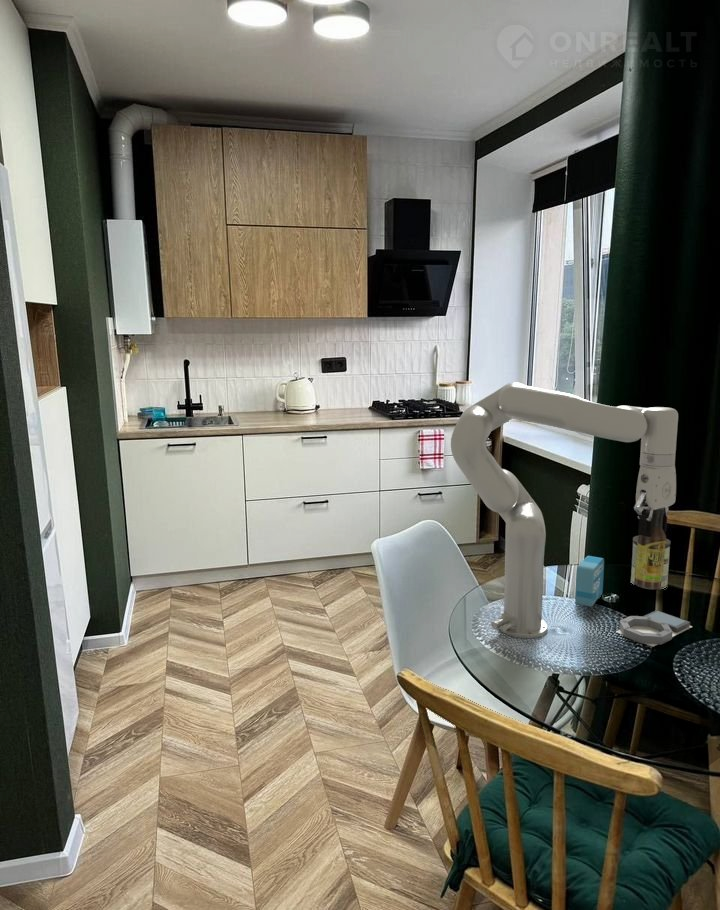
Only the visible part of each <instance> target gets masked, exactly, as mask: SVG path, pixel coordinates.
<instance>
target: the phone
mask: <svg viewBox="0 0 720 910" xmlns="http://www.w3.org/2000/svg"><path fill="white" fill-rule="evenodd" d="M643 617H651V618H654V619H657V620H660V621H662V622H665V623H667V624H668V625H669V627H670V628H671V630H672V631H673V632H676V633H678V632H680V631H682V630H684V629H686V628H688V627H689V626H691V621H688V620H685V619H684V618H683V619H682V618H681V617H677V616H674V615H672V614H668V613H665V612H662V611H659V610H657V609H656V610H654V611H651V612H650V613H647V614H645V615H643Z"/></svg>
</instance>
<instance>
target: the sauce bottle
mask: <svg viewBox="0 0 720 910" xmlns="http://www.w3.org/2000/svg"><path fill="white" fill-rule="evenodd" d="M646 507H648V505H646ZM645 511H646V513H647V514H648V510H647V509H645ZM664 511H665V509H664V508H661V509H657V510H653V514H652V518H651V521H653V525H652V536H651V537H647V536H643V535H639V534H638V535H639V539H638V545H637V555H636V565H635V575H634V576H635V580H634V583H635V584H634V585H636V586H637V587H639V588H642V589H646V590H657V589H658V588H660V587H661V581H662V576H663V567H664V557H665V548H666V539H667V535H666V532H664V530H663V529H662V525H663V524H662V522H663V515H664ZM658 590H659V589H658Z"/></svg>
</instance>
